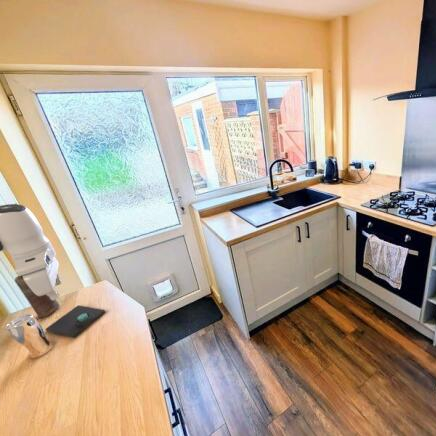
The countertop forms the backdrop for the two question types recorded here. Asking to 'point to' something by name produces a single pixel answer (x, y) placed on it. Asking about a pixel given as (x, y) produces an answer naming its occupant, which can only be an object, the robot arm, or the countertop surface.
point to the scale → (75, 321)
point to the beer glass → (29, 334)
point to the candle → (37, 299)
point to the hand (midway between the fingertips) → (57, 290)
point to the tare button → (82, 317)
